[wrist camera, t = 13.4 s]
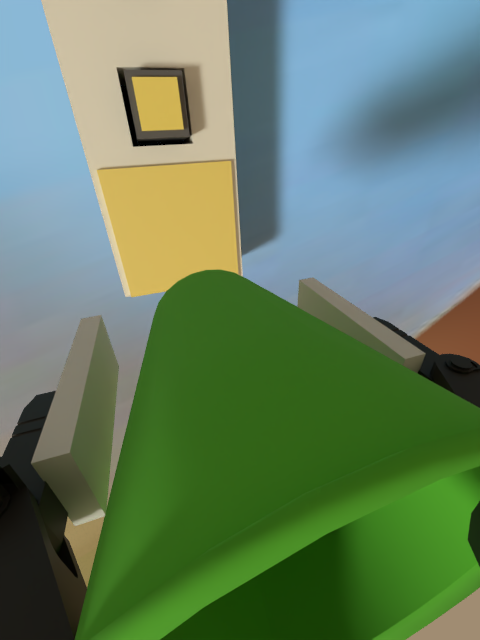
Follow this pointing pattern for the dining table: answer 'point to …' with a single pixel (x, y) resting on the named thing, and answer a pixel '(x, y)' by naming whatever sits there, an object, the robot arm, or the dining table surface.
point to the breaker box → (163, 160)
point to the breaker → (157, 105)
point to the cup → (281, 482)
